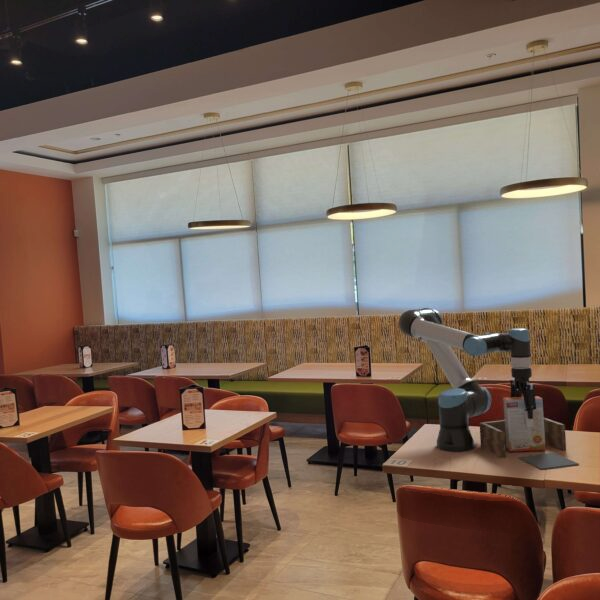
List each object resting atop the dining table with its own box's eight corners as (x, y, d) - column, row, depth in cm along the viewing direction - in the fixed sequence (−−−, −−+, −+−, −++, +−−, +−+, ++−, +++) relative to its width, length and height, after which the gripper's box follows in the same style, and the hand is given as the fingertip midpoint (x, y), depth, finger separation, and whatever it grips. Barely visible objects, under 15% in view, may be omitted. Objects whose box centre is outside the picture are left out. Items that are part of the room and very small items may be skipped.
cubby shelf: (480, 446, 238) (479, 422, 238) (541, 439, 243) (539, 416, 243) (502, 457, 221) (500, 432, 221) (566, 449, 226) (564, 424, 226)
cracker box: (541, 446, 232) (538, 395, 232) (545, 451, 226) (543, 398, 226) (505, 447, 234) (502, 396, 233) (509, 452, 228) (506, 399, 227)
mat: (518, 458, 220) (518, 456, 220) (553, 453, 223) (553, 452, 223) (541, 469, 205) (541, 468, 205) (578, 465, 208) (578, 463, 208)
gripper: (544, 369, 220) (547, 429, 221) (516, 363, 240) (518, 418, 240) (526, 371, 219) (529, 431, 219) (499, 365, 238) (502, 420, 239)
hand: (524, 424), depth 230 cm, fingers closed on cracker box, 7 cm apart
